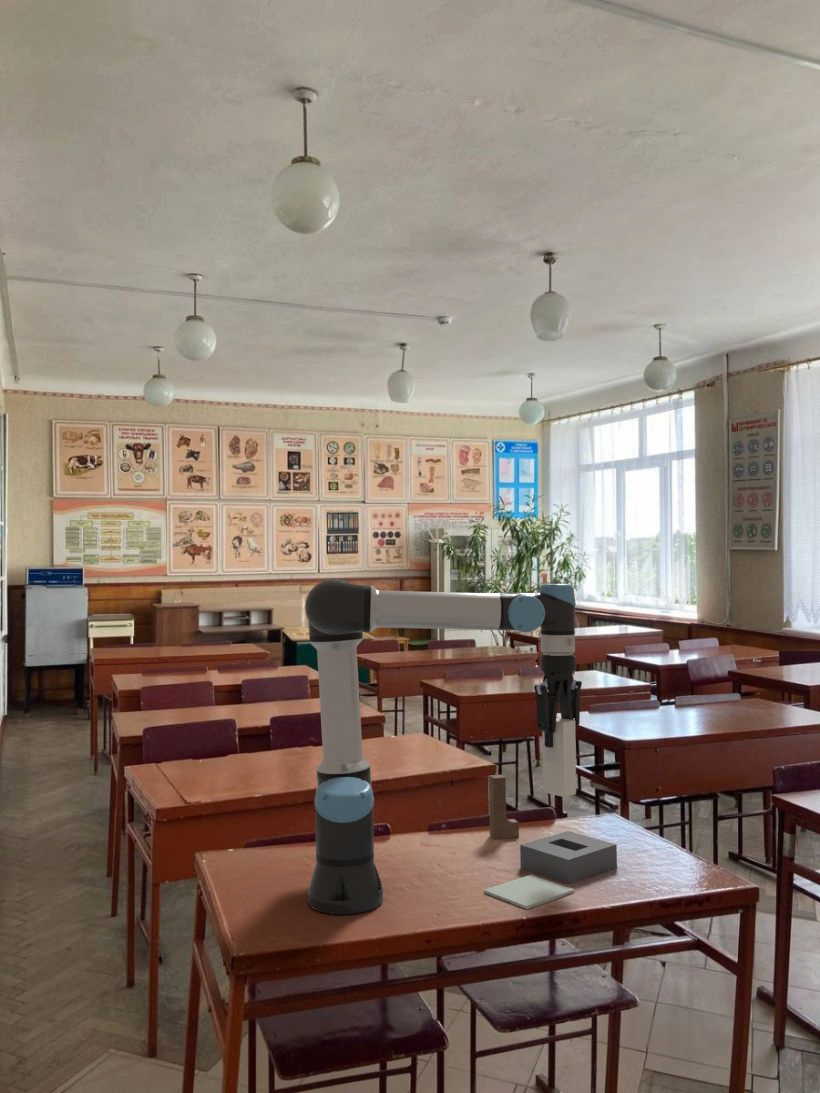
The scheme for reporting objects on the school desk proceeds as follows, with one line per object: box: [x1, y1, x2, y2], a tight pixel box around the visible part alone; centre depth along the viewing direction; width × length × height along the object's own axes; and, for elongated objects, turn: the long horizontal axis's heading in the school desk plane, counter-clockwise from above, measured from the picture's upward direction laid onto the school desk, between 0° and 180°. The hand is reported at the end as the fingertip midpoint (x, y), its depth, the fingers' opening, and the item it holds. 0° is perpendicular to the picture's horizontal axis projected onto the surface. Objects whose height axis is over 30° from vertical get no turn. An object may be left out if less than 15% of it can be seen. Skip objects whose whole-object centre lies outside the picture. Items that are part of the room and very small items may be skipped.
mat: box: [483, 874, 575, 910], centre depth 184 cm, size 14×12×1 cm
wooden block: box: [488, 774, 520, 840], centre depth 223 cm, size 7×3×15 cm, turn 106°
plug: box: [541, 717, 577, 798], centre depth 197 cm, size 4×6×16 cm, turn 40°
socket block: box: [519, 830, 618, 885], centre depth 199 cm, size 16×14×5 cm
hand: (559, 760), depth 197 cm, fingers closed on plug, 4 cm apart
